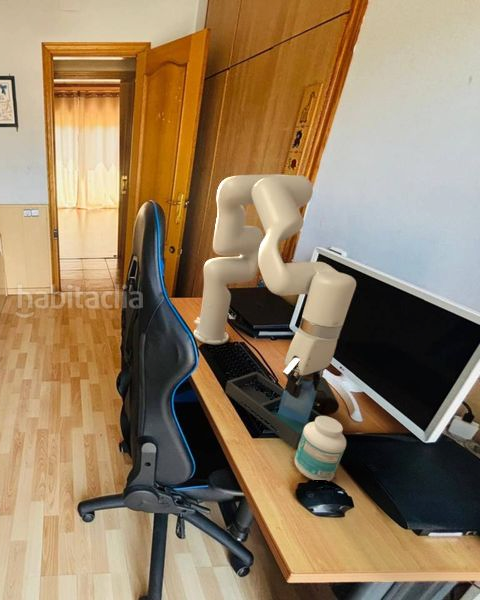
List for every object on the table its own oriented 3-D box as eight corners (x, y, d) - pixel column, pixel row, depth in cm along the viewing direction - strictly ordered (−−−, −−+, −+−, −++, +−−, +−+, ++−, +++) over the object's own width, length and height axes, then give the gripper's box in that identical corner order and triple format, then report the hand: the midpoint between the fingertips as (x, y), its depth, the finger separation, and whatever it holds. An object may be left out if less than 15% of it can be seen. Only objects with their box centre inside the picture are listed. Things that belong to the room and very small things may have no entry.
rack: (225, 392, 97) (227, 381, 96) (254, 382, 101) (256, 371, 100) (294, 449, 78) (298, 436, 77) (327, 434, 82) (332, 422, 80)
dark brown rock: (335, 419, 86) (342, 399, 84) (304, 413, 89) (310, 394, 86) (323, 395, 95) (329, 376, 92) (295, 390, 97) (300, 371, 94)
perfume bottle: (310, 410, 84) (323, 372, 79) (306, 424, 79) (319, 385, 74) (282, 400, 87) (293, 362, 82) (277, 413, 83) (288, 374, 78)
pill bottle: (305, 450, 78) (321, 406, 72) (340, 474, 72) (359, 428, 66) (286, 463, 75) (300, 418, 69) (320, 490, 69) (338, 443, 63)
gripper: (329, 312, 79) (309, 373, 87) (277, 327, 74) (261, 391, 81) (363, 326, 73) (339, 391, 80) (309, 343, 67) (289, 411, 75)
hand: (300, 390), depth 81 cm, fingers closed on perfume bottle, 5 cm apart
